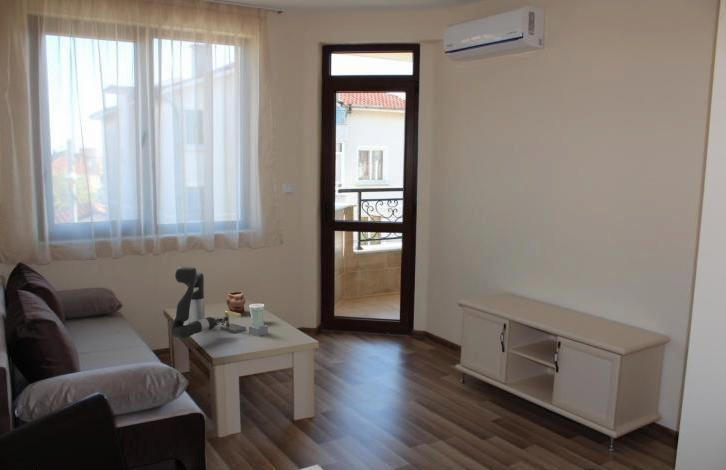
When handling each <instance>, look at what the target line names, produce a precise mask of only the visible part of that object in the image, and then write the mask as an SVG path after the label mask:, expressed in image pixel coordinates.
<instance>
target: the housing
mask: <svg viewBox="0 0 726 470" xmlns="http://www.w3.org/2000/svg"><path fill="white" fill-rule="evenodd" d="M268 333H269V326H268V325H266V324H264V326H263V327H260V328H256V327H253V324H252V325H249V326H248V335H251V336H256V337H261V336H263V335H266V334H268Z"/></svg>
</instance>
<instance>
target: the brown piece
mask: <svg viewBox="0 0 726 470" xmlns="http://www.w3.org/2000/svg"><path fill="white" fill-rule="evenodd" d="M224 315H225V317H226V316H227V317H229V318H230V316H231V317H235V318H242V314H240V313H236V312H231V311H230V310H229V309H228V310H225V311H224ZM229 324H230V319H229V320H228V321H225V325H229Z"/></svg>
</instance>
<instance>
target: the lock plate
mask: <svg viewBox="0 0 726 470" xmlns="http://www.w3.org/2000/svg"><path fill="white" fill-rule="evenodd" d="M220 330H221V331H223V332H224V331H225V332H227V333H231V334H237V333H240V332H245V331H246V330H247V326H244V325H241V324H237V323H236V324H235V323H229V325H226V324H224V325H221V326H220Z"/></svg>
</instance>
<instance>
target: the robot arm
mask: <svg viewBox="0 0 726 470" xmlns="http://www.w3.org/2000/svg"><path fill="white" fill-rule="evenodd" d="M175 280H176V282H177V283H180V284H184V285H186V287H187V289H186V291H185V293H184V294H183V296H181V298H180V300H178V303H177V304H176V313H175V319H174V321H173V323H172V326H171V335H172V336H173V337H174V338H178V339H186V338H189V337H192V336H193V335H196V334H199V333H204V332H207V331H212V330H213V329H215V327H216V326H220V325H221V326H224V325H226V321H228V320H229V321H230V316H229V317H227V316H226V315H225V316H221V317H219V316H215V317H212V316H205V315H206V314H205V292H204V291H205V290H204V289H205V288H204V287H205V286H204V285H205V283H204V282H205V276H204V273H203V272H197V268H196V267H191V266H179V267H177V269H176V271H175ZM195 288H196V289H197V290H195ZM194 290H195V291H194ZM187 321H188V324H185V322H187Z"/></svg>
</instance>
